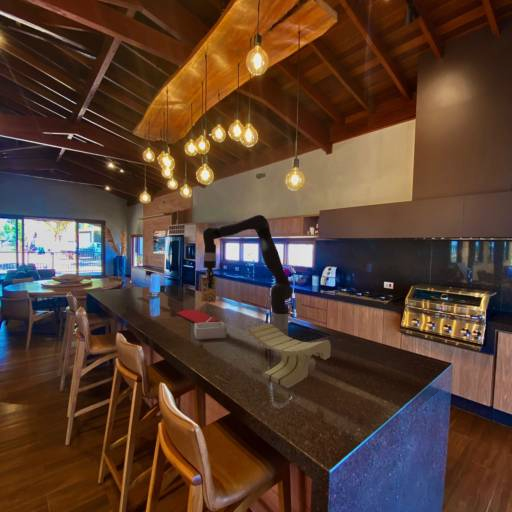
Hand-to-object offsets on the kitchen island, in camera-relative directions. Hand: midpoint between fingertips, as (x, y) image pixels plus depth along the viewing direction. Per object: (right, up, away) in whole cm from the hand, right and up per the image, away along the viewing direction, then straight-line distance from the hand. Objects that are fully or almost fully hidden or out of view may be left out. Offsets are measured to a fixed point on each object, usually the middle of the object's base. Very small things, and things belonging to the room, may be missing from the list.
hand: (209, 287), depth 170 cm
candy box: (0, -9, 0) cm, 9 cm away
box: (+2, -27, -9) cm, 29 cm away
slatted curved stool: (+42, -30, -56) cm, 76 cm away
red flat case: (-12, -26, +26) cm, 39 cm away
